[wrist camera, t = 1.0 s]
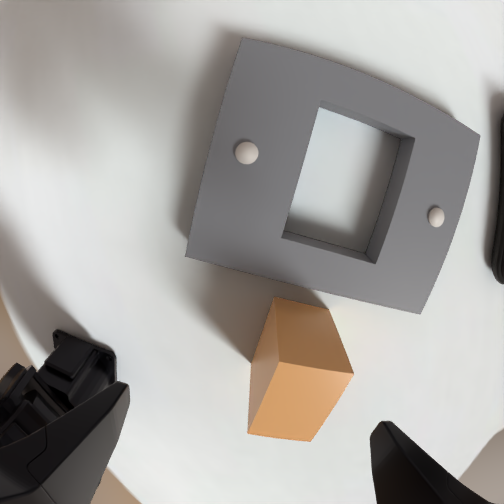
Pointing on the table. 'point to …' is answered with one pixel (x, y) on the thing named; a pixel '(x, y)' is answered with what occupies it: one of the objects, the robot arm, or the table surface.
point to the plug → (296, 372)
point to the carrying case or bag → (500, 224)
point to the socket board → (289, 167)
